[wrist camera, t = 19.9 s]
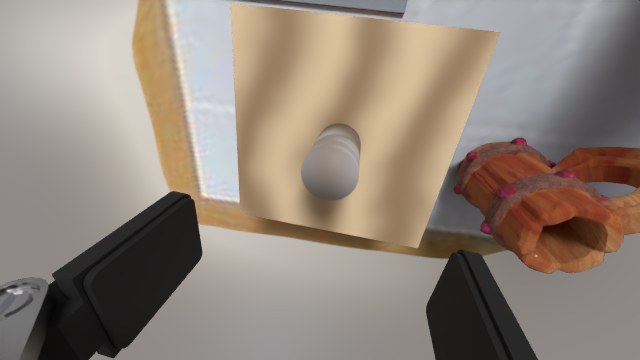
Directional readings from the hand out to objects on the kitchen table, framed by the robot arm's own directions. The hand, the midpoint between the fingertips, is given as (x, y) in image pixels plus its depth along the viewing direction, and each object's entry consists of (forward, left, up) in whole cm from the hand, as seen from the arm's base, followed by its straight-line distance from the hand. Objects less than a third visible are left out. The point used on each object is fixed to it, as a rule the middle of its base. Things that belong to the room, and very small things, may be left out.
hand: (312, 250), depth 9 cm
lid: (0, 0, -14) cm, 14 cm away
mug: (-20, +2, -24) cm, 31 cm away
